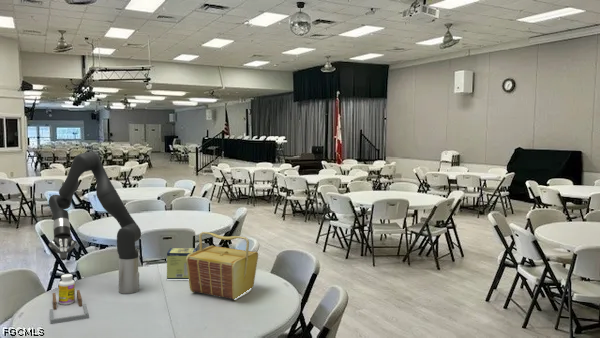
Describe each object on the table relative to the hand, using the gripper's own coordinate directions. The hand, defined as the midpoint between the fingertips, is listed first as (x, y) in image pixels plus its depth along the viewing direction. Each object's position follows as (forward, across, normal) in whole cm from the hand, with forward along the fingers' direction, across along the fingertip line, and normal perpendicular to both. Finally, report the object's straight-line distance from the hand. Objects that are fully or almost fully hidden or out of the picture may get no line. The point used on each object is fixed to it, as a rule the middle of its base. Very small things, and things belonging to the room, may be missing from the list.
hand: (63, 259), depth 225 cm
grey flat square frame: (+33, -2, -13) cm, 36 cm away
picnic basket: (+34, +68, -20) cm, 79 cm away
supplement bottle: (+23, 0, 0) cm, 23 cm away
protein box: (+14, +59, +4) cm, 61 cm away
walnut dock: (+23, 0, -1) cm, 23 cm away
